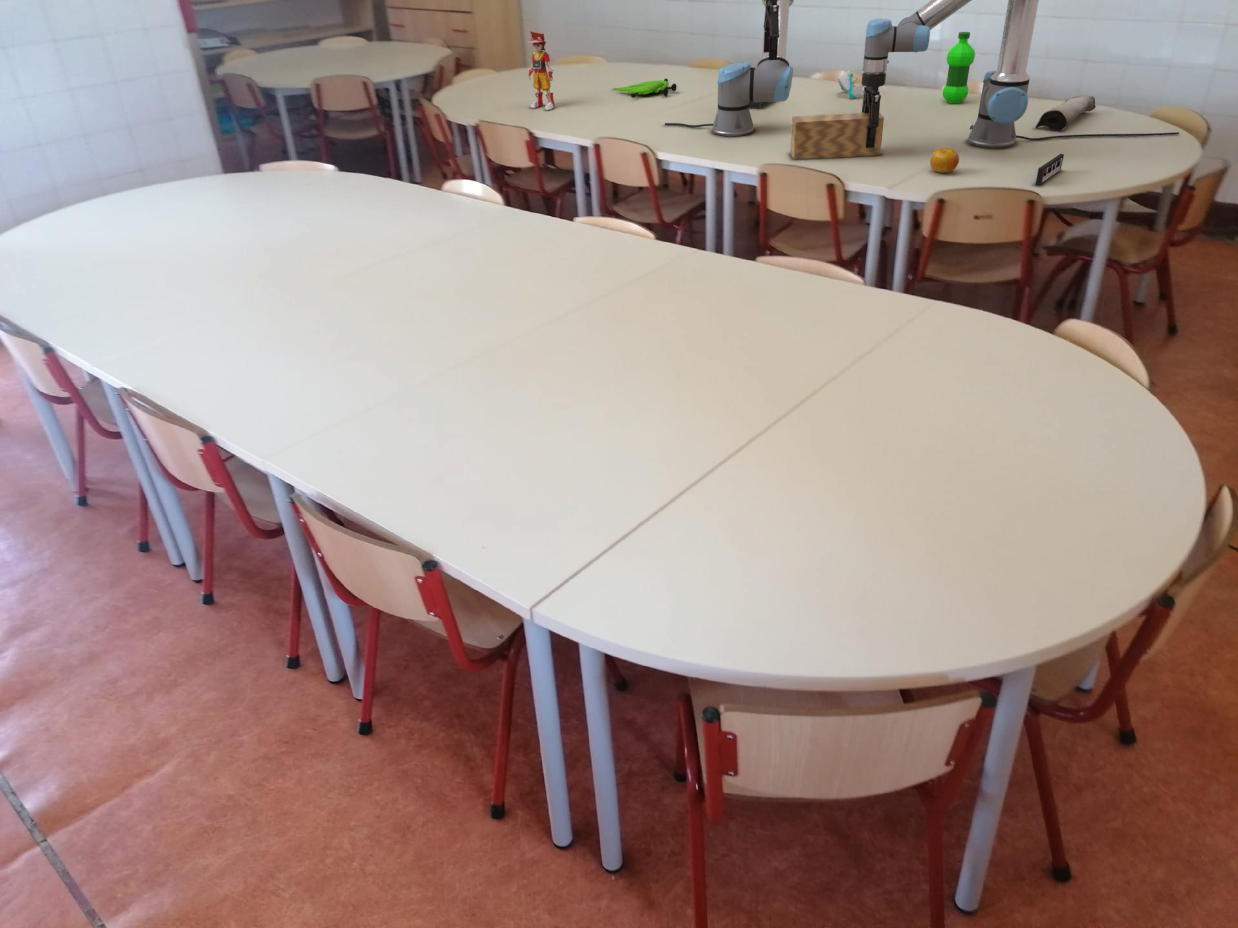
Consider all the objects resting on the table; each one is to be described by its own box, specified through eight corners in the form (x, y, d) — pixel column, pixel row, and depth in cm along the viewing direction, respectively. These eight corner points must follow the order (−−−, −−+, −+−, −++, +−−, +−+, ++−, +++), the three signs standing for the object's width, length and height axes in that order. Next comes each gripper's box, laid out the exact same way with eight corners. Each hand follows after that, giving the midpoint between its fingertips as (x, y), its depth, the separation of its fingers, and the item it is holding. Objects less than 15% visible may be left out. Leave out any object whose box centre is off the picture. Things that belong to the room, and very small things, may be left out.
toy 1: (525, 109, 381) (517, 32, 364) (534, 104, 388) (527, 28, 371) (550, 110, 377) (543, 32, 360) (559, 105, 384) (553, 28, 367)
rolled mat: (1063, 100, 336) (1087, 83, 328) (1076, 121, 336) (1101, 104, 328) (1031, 122, 319) (1056, 104, 310) (1045, 143, 319) (1071, 126, 311)
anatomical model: (833, 70, 374) (857, 63, 373) (835, 95, 380) (859, 89, 379) (843, 78, 362) (868, 71, 361) (846, 104, 367) (870, 97, 367)
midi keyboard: (1039, 185, 269) (1043, 168, 266) (1035, 184, 270) (1038, 168, 267) (1060, 170, 279) (1064, 154, 277) (1056, 169, 280) (1060, 153, 277)
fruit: (924, 163, 281) (941, 140, 278) (925, 165, 289) (941, 143, 286) (946, 178, 280) (963, 155, 277) (947, 180, 288) (963, 158, 285)
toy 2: (686, 85, 398) (631, 84, 414) (685, 72, 395) (629, 72, 411) (651, 104, 381) (596, 103, 397) (650, 92, 378) (594, 91, 394)
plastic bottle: (973, 101, 354) (984, 32, 339) (955, 106, 349) (966, 36, 335) (952, 97, 361) (962, 29, 346) (934, 102, 356) (944, 33, 342)
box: (793, 159, 304) (795, 122, 297) (790, 153, 310) (792, 116, 303) (880, 155, 302) (884, 117, 296) (875, 148, 309) (878, 111, 302)
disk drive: (760, 109, 361) (775, 100, 371) (761, 102, 360) (776, 93, 370) (737, 107, 366) (752, 98, 376) (737, 100, 364) (753, 91, 374)
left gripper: (790, -10, 282) (786, 63, 295) (779, -20, 303) (776, 48, 315) (766, -8, 283) (763, 64, 295) (757, -18, 303) (754, 49, 315)
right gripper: (893, 78, 283) (885, 152, 296) (878, 65, 299) (871, 135, 312) (869, 79, 283) (862, 153, 296) (856, 66, 300) (849, 136, 313)
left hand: (770, 56), depth 305 cm, fingers open, 13 cm apart
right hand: (867, 144), depth 304 cm, fingers closed on box, 8 cm apart
